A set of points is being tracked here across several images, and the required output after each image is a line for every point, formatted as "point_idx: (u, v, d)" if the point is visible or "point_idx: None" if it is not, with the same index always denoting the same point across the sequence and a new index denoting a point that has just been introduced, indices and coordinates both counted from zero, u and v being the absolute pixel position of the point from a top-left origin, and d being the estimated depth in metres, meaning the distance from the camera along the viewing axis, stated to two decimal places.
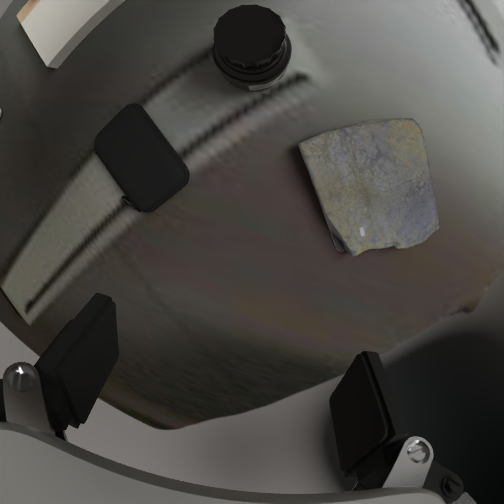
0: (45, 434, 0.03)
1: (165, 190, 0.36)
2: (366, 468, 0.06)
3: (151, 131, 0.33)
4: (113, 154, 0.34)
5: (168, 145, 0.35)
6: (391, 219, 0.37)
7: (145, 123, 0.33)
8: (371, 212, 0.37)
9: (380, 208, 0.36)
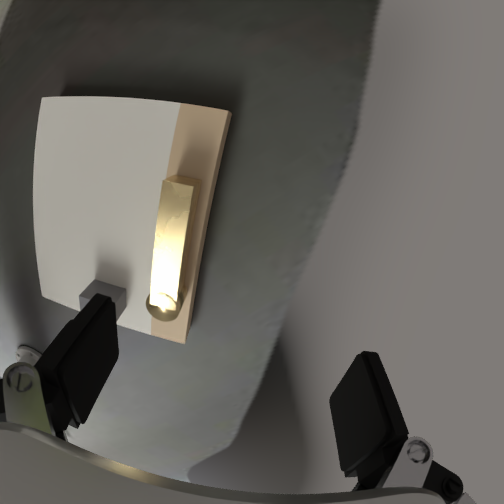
0: (45, 434, 0.03)
1: None
2: (366, 468, 0.06)
3: None
4: None
5: None
6: None
7: None
8: None
9: None
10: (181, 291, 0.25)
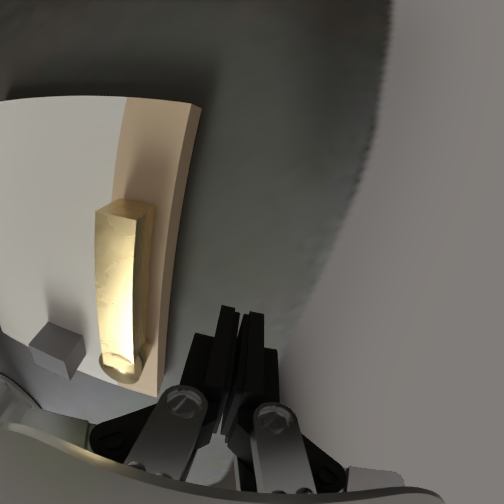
0: (45, 434, 0.03)
1: None
2: (231, 431, 0.07)
3: None
4: None
5: None
6: None
7: None
8: None
9: None
10: (142, 348, 0.18)
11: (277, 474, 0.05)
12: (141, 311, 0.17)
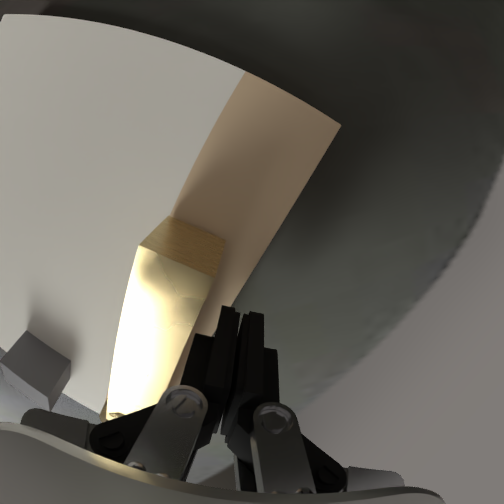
0: (45, 434, 0.03)
1: None
2: (231, 431, 0.07)
3: None
4: None
5: None
6: None
7: None
8: None
9: None
10: None
11: (277, 474, 0.05)
12: None
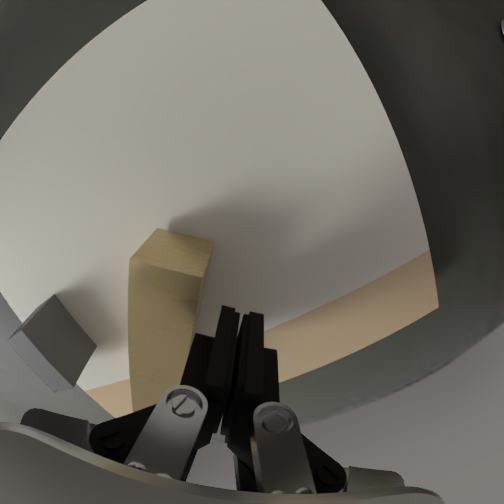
0: (45, 434, 0.03)
1: None
2: (231, 431, 0.07)
3: None
4: None
5: None
6: None
7: None
8: None
9: None
10: None
11: (277, 474, 0.05)
12: None
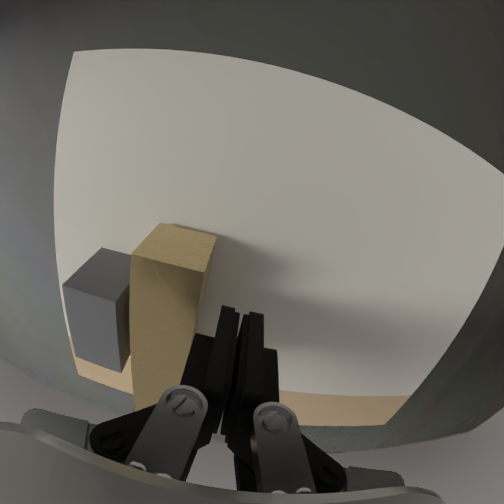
0: (45, 434, 0.03)
1: None
2: (231, 431, 0.07)
3: None
4: None
5: None
6: None
7: None
8: None
9: None
10: None
11: (277, 474, 0.05)
12: None
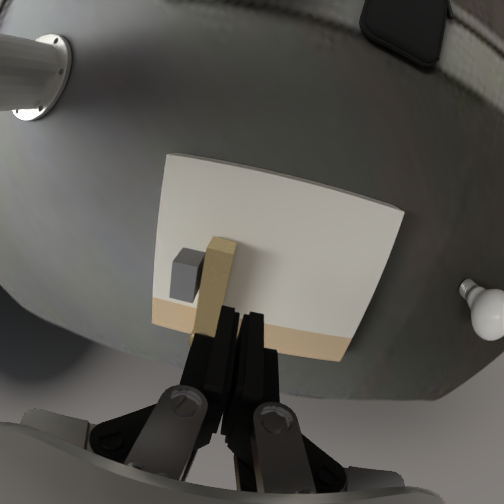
0: (45, 434, 0.03)
1: None
2: (231, 431, 0.07)
3: None
4: (426, 28, 0.18)
5: None
6: None
7: (373, 2, 0.18)
8: None
9: None
10: None
11: (277, 474, 0.05)
12: None
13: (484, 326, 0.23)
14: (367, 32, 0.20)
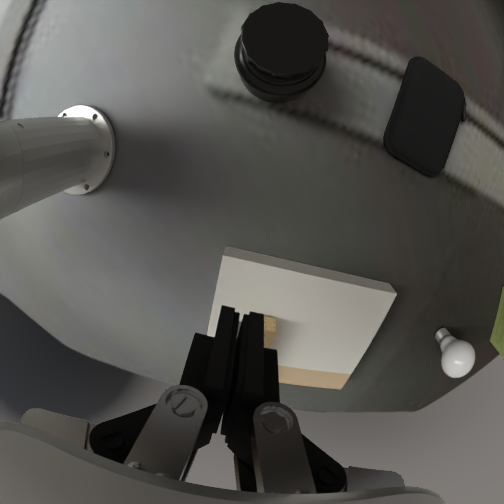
0: (45, 434, 0.03)
1: (439, 72, 0.24)
2: (231, 431, 0.07)
3: (403, 107, 0.26)
4: (440, 142, 0.27)
5: (403, 86, 0.26)
6: None
7: (400, 118, 0.27)
8: None
9: None
10: None
11: (277, 474, 0.05)
12: None
13: (449, 369, 0.33)
14: (389, 148, 0.29)
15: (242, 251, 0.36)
